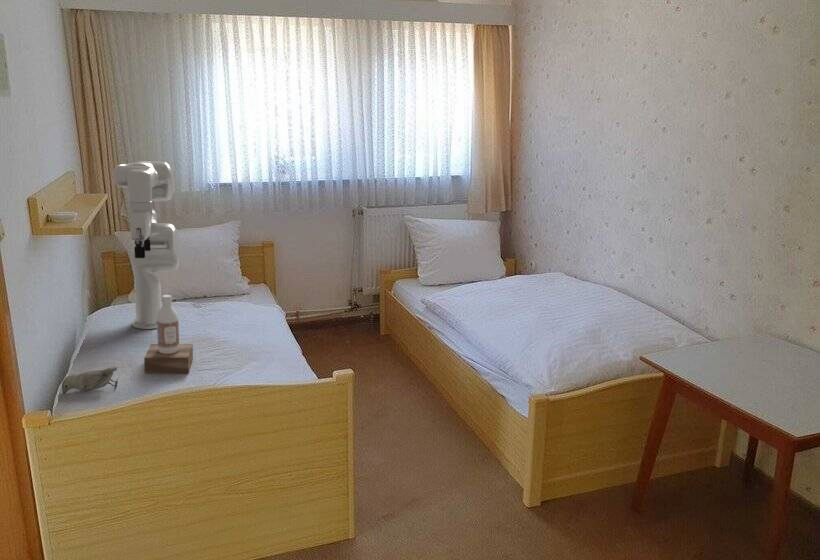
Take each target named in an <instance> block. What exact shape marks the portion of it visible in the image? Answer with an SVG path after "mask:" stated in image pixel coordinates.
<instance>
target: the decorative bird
mask: <svg viewBox="0 0 820 560" xmlns="http://www.w3.org/2000/svg"><path fill="white" fill-rule="evenodd" d="M118 368H119V367H118V366H113V367H107V368H104V369H103V368H102V369H98V370H97V369H96V370H89V371H85V372H81V373H74V374H69V375H68V376H67V375H66V377H64V379H63V381H62V383H61V389H62V393H63V394H66V393H67V392H68V391H70V390H74V389H75V390H77V391H81V392H82V391H83V392H89V391H93V390H98V389H101V388H104V387H106V386H107V385H111V386H113V387H114V390H116V389H117V387H118V383H119V382H118V380H119V377H118V378H117V379H116V381H115V380H113V379H112V377H113V375H114V372H116V371H118ZM110 381H111V382H110ZM112 382H113V383H114V384H112Z"/></svg>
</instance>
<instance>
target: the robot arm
mask: <svg viewBox="0 0 820 560" xmlns="http://www.w3.org/2000/svg"><path fill="white" fill-rule="evenodd" d="M112 174H113V175H112V178H113V182H114V184H115V186H117V187H118V188H125V190H126V197H127V200H128V211H130V212H131V213H130V239H131V241H134V250H132V252H131V253H130V264H131V269H132V273H133V282H134V298H135V303H134V304H135V319H133V321H132V326H133V328H136V329H139V330H152V329H157V315H158V312H159V311H160V309H161V308H162V290H161V288H162V287H161V280H160V279H159V277H158V276H157V275H156V274H155V273H157V272H159V273H161V272H174V271H176V270H177V269H178V268H179V263H180V259H179V258H180V257H179V255H180V254H179V237H178V231H177V228H176V226H175V225H174V224H173V223H168V222H165V223H164V222H160V223H158V214H157V212H156V210H155V209H154V207H153V202H167V201H170V200H172V198H173V196H174V178H173V170H172V168H171V166H170V164H169V163H168V162H166V161H157V160H156V161H153V160H151V161H149V160H148V161H147V160H141V161H140V160H139V161H137V162H132V163H124V164H122V163H121V164H116V166H115V167H114V169H113V173H112Z"/></svg>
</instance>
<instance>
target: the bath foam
mask: <svg viewBox="0 0 820 560" xmlns="http://www.w3.org/2000/svg"><path fill="white" fill-rule="evenodd" d="M172 304H173V303H172V295H170V294H164V295H161V309H160V311H159V312H158V315H157V328H156V335H157V344H158V351H159V352H160V353H162V354H173V353H176V352H177V351H179V344H180V327H179V326H180V325H179V314H178V312H177V311H176V309H175V308H174V307H173V306H172Z"/></svg>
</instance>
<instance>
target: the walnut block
mask: <svg viewBox="0 0 820 560" xmlns="http://www.w3.org/2000/svg"><path fill="white" fill-rule="evenodd" d="M193 347H194V345H193V343H179V351H177V352H176V353H173V354H162V353H160V352H159V351H158V343H150V345H149V347H148V349H147V351H146V354H145V356H144V358H143V360H144V361H143V362H144V375H189V374H190V371H191V368H192V367H191V366H192V364H193V360H194V351H193V350H194V348H193Z"/></svg>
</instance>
